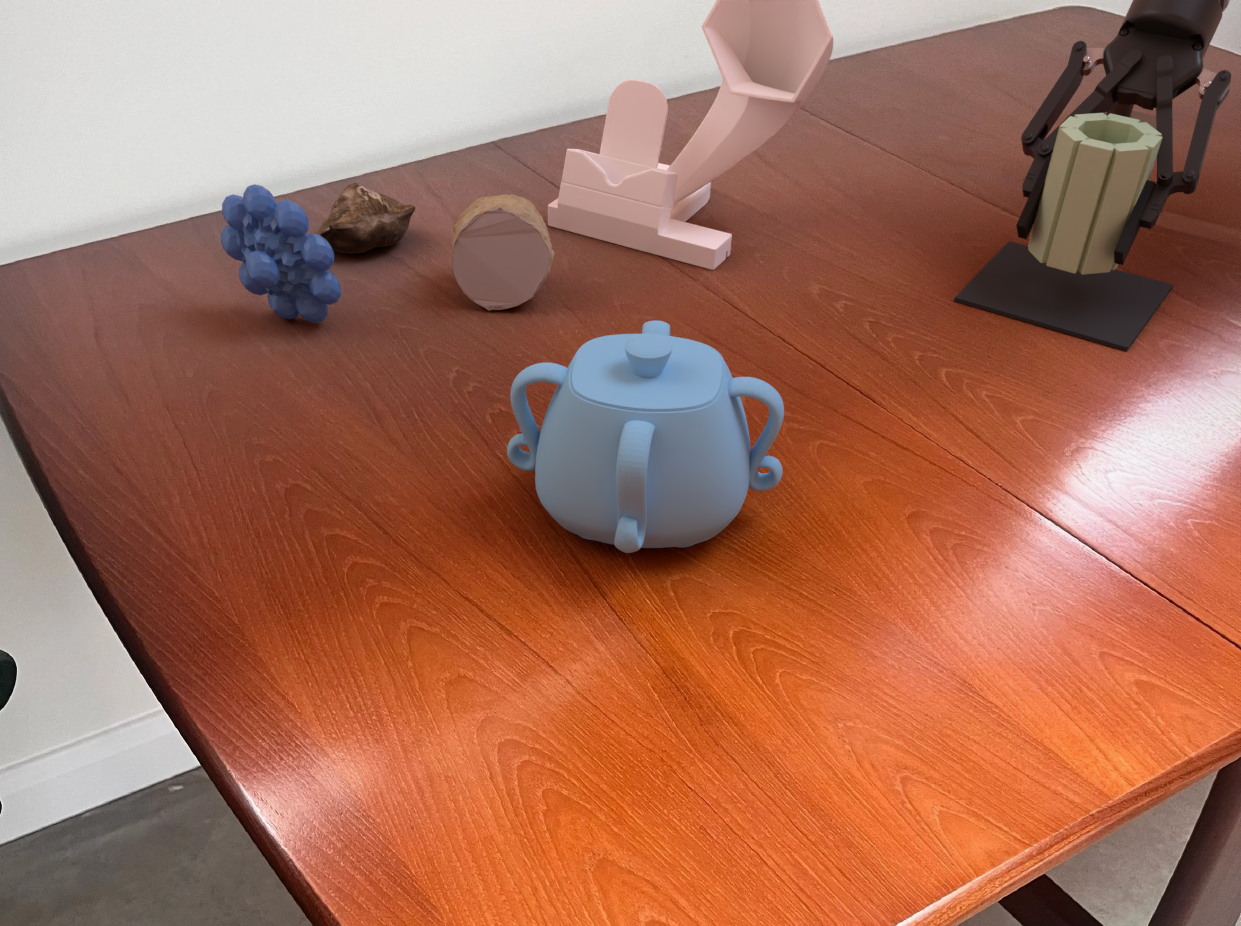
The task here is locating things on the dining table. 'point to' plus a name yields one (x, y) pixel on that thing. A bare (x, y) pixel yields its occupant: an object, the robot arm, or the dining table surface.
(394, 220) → the fossilized seashell
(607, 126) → the phone horn amplifier
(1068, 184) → the fluted octagonal tube
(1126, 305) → the mat
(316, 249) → the grapes
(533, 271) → the bark-rimmed wood disc
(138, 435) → the dining table surface
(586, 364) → the decorative pot
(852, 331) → the dining table surface
